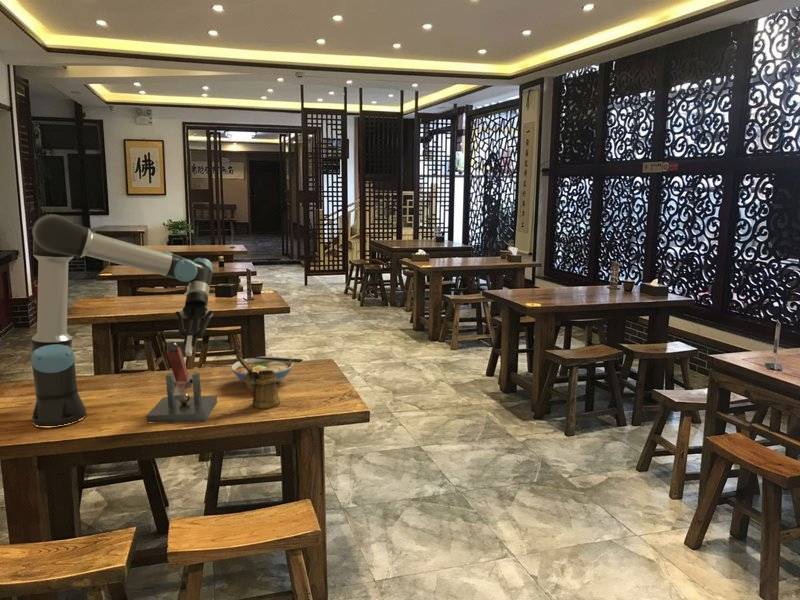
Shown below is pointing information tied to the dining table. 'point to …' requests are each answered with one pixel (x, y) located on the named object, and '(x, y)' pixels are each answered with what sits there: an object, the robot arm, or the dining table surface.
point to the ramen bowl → (265, 366)
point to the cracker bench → (183, 404)
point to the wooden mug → (261, 386)
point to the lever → (178, 371)
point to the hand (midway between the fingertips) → (188, 354)
